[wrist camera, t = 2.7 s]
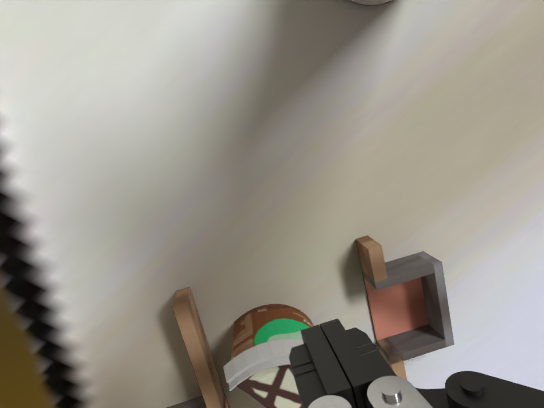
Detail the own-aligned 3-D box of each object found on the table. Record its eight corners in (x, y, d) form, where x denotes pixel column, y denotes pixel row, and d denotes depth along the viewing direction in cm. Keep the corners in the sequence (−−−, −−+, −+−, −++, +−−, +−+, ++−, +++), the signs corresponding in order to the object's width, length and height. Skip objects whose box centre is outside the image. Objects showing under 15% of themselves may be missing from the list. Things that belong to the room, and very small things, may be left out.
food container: (355, 342, 36) (405, 420, 26) (312, 385, 36) (346, 477, 27) (268, 265, 33) (288, 321, 23) (222, 312, 33) (223, 386, 24)
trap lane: (119, 307, 32) (100, 339, 27) (418, 220, 34) (451, 235, 29) (194, 504, 37) (190, 561, 32) (450, 417, 39) (482, 457, 35)
